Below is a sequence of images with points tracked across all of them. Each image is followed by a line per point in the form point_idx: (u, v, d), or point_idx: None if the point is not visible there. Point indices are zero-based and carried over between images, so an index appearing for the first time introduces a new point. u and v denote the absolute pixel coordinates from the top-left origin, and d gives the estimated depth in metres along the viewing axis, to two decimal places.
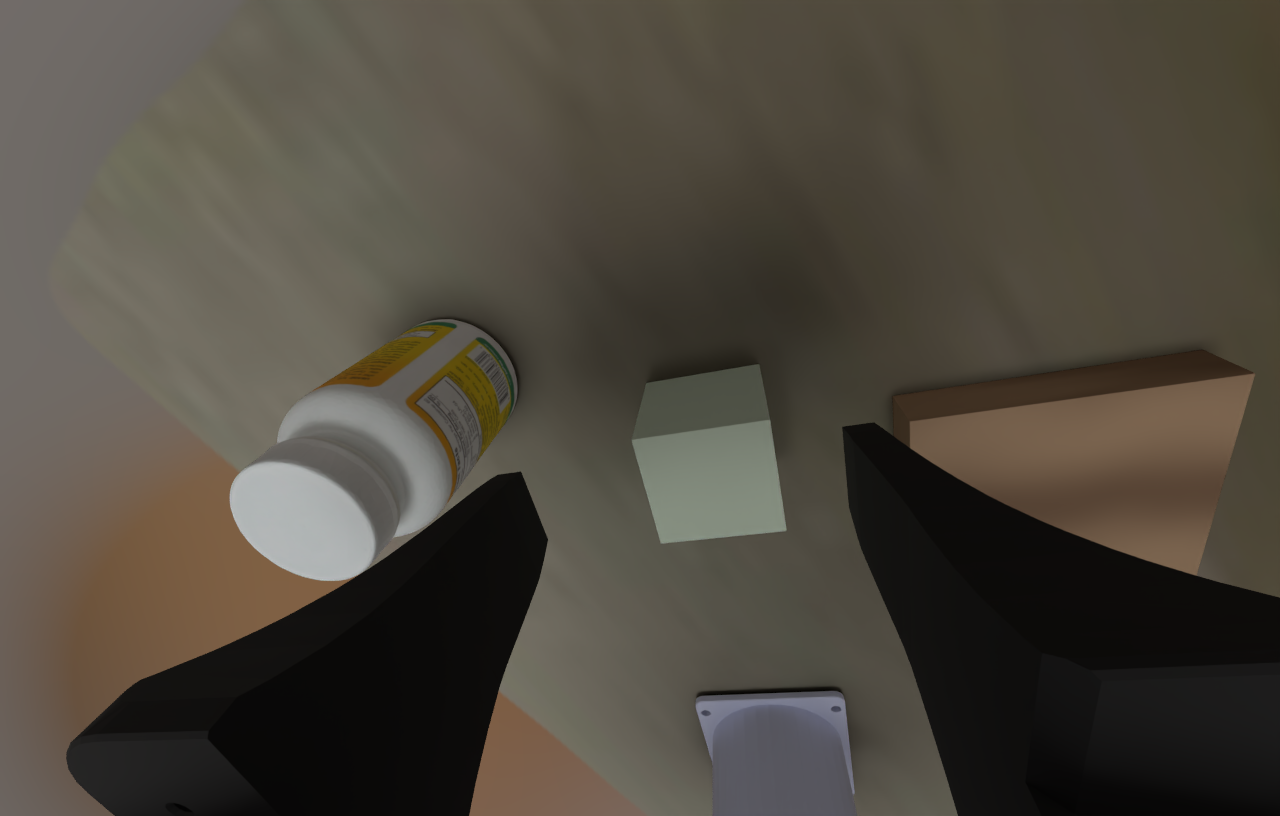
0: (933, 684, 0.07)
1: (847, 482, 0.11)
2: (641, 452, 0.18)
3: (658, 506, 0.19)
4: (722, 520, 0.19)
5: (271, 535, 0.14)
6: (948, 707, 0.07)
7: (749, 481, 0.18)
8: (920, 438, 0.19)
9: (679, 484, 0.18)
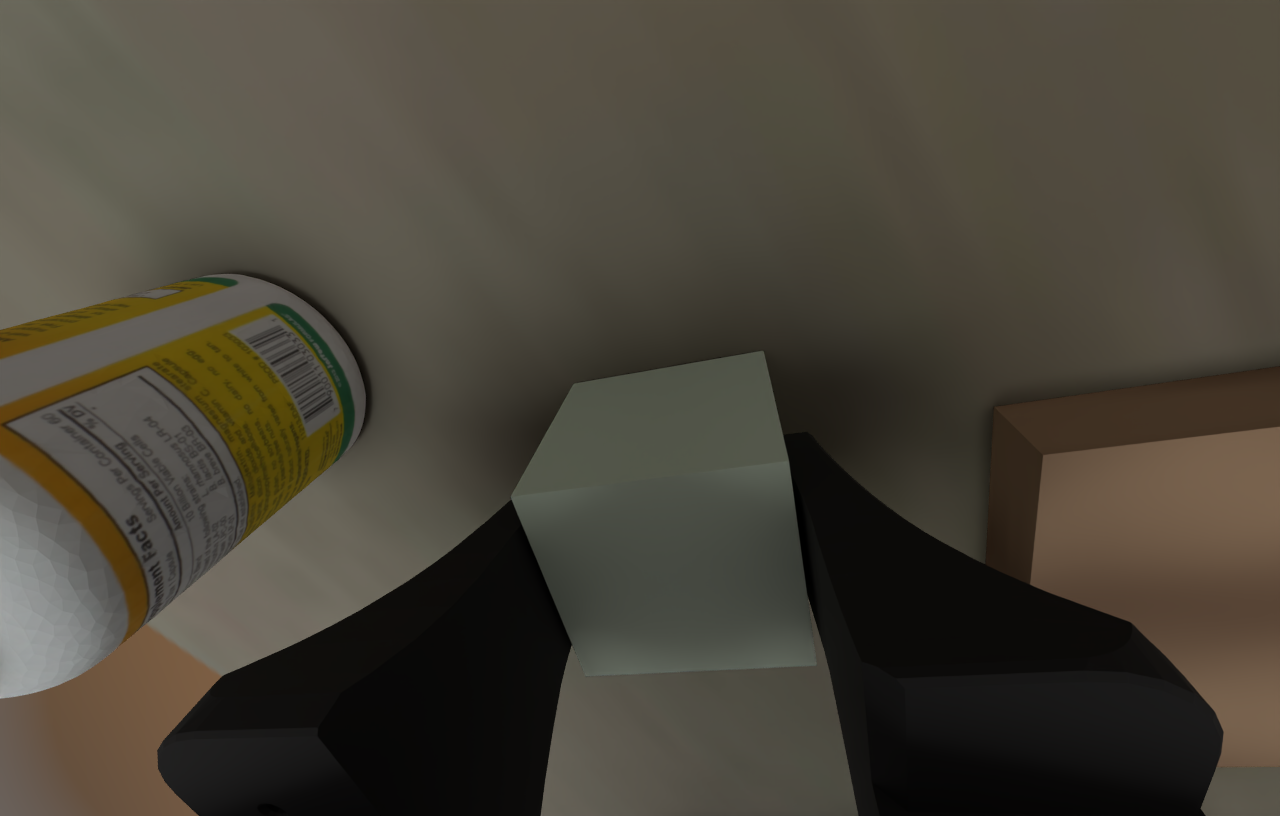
0: (837, 688, 0.08)
1: None
2: (532, 520, 0.09)
3: (575, 616, 0.10)
4: (695, 643, 0.10)
5: None
6: (843, 710, 0.07)
7: (746, 578, 0.09)
8: (1060, 485, 0.10)
9: (610, 579, 0.09)
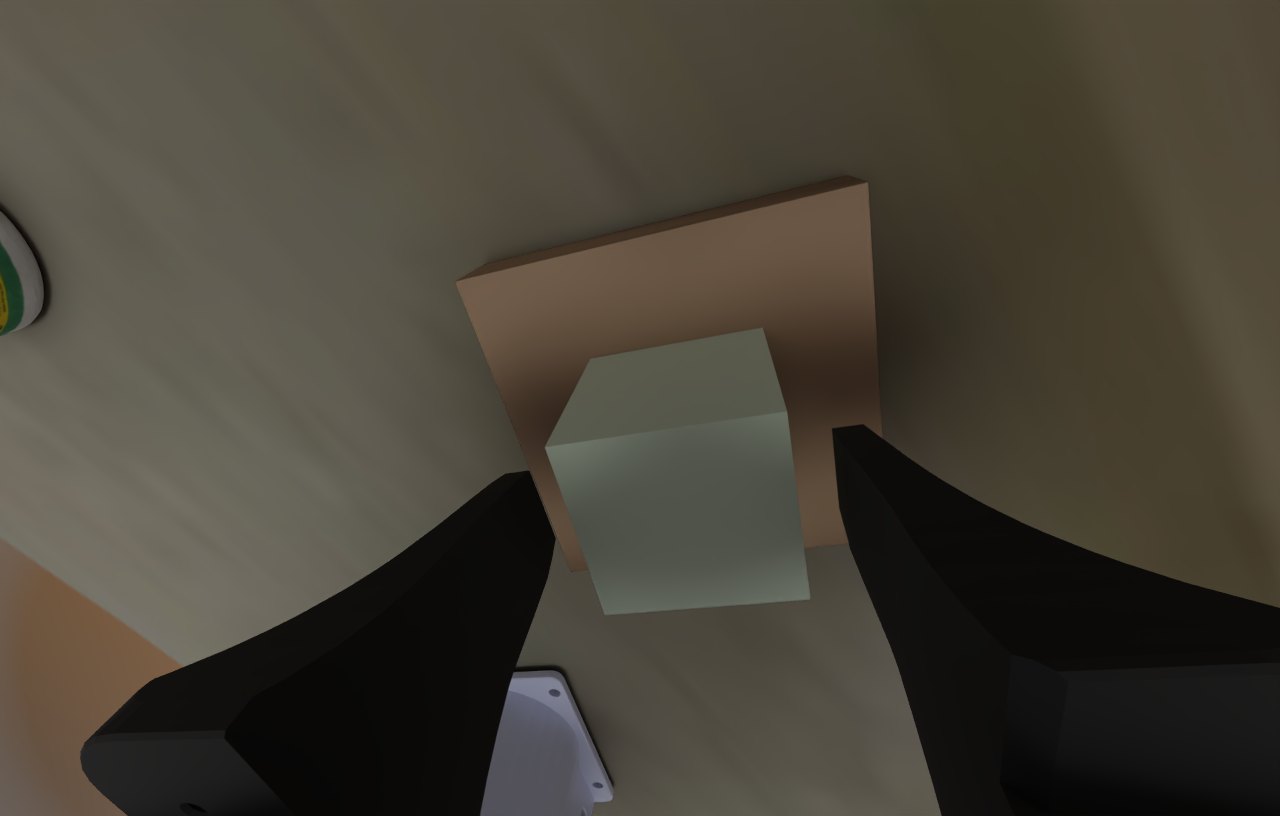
0: (917, 685, 0.07)
1: (837, 483, 0.11)
2: (563, 468, 0.10)
3: (597, 558, 0.11)
4: (703, 581, 0.11)
5: None
6: (931, 708, 0.07)
7: (749, 519, 0.10)
8: (478, 307, 0.14)
9: (630, 522, 0.11)
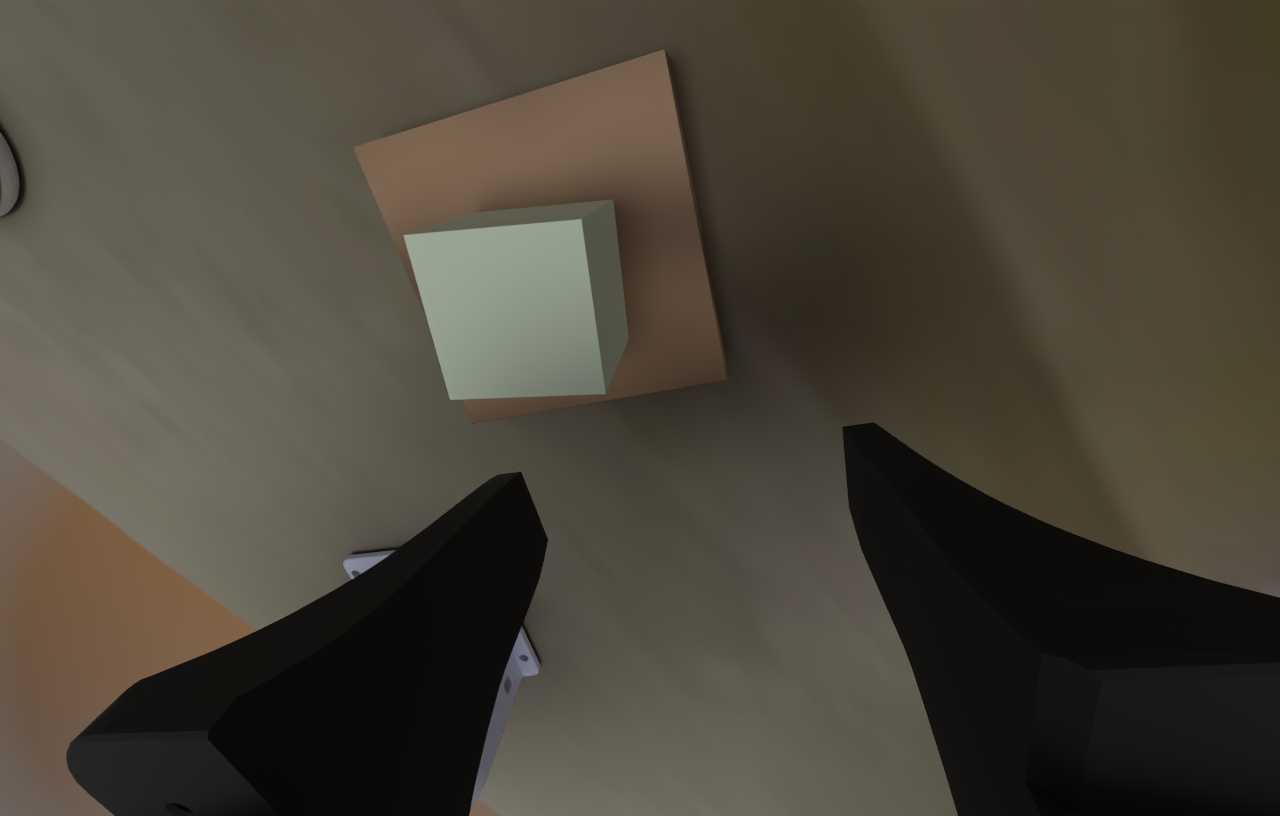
0: (933, 684, 0.07)
1: (847, 482, 0.11)
2: (417, 256, 0.13)
3: (444, 343, 0.14)
4: (525, 371, 0.14)
5: None
6: (948, 707, 0.07)
7: (558, 315, 0.13)
8: (373, 170, 0.17)
9: (468, 310, 0.14)
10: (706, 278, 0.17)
